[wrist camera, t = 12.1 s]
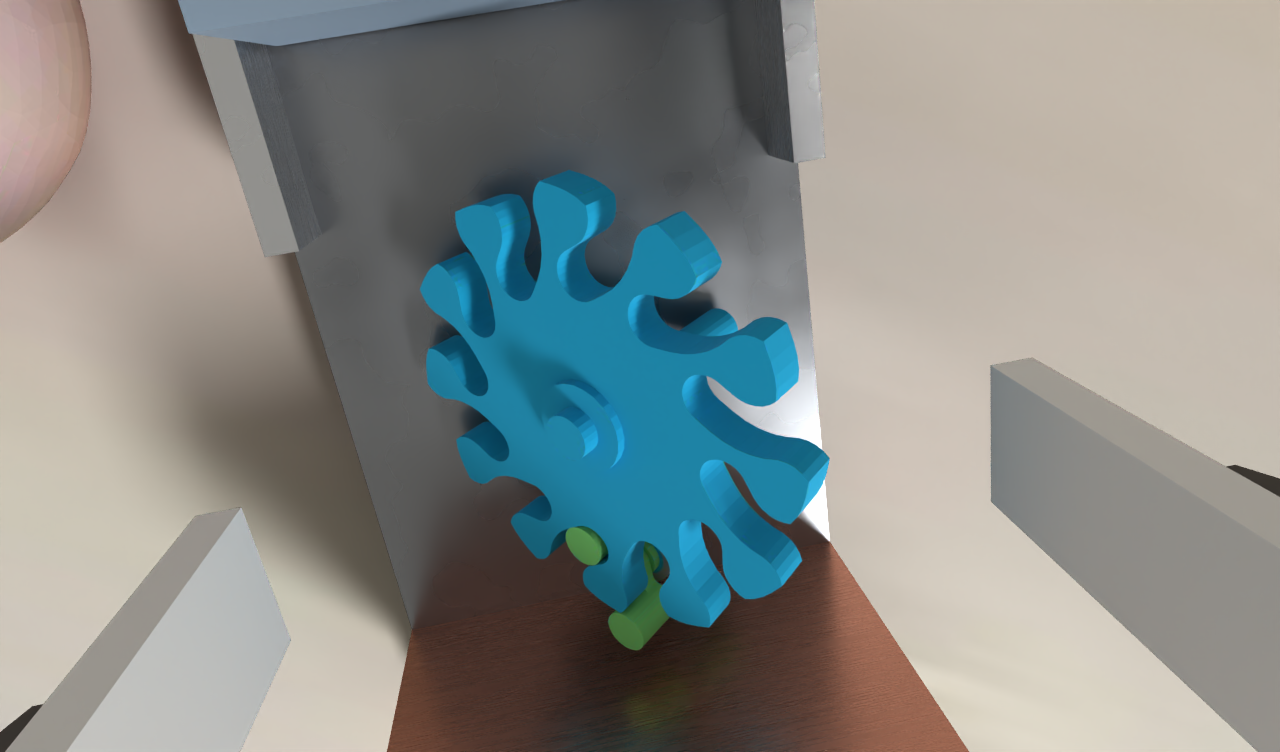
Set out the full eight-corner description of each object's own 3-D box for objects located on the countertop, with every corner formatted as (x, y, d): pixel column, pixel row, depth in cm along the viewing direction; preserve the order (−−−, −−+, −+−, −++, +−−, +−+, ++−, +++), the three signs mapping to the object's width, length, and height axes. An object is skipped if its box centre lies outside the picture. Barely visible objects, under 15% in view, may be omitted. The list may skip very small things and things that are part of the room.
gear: (354, 165, 17) (798, 233, 11) (549, 109, 21) (944, 139, 15) (450, 576, 22) (784, 760, 16) (591, 467, 26) (896, 586, 20)
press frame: (734, -269, 18) (954, -637, 9) (817, 613, 27) (974, 898, 17) (187, -192, 17) (-207, -511, 8) (452, 692, 26) (411, 1037, 17)
